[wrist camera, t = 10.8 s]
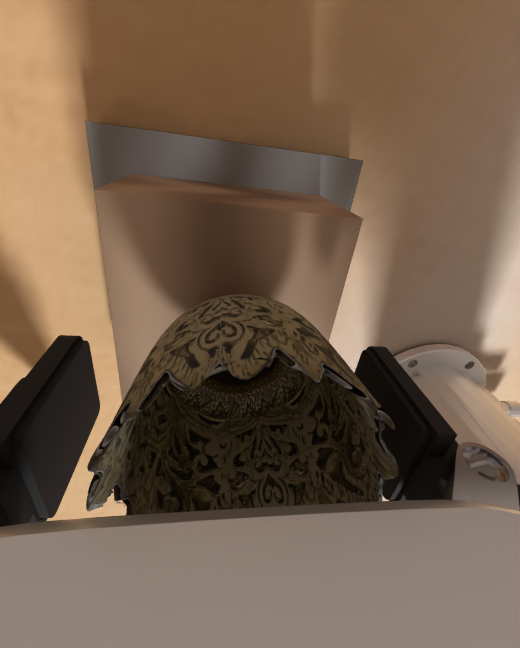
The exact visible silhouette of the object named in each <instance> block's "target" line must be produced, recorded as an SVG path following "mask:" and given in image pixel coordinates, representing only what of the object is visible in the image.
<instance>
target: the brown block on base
mask: <svg viewBox="0 0 520 648" xmlns="http://www.w3.org/2000/svg"><path fill="white" fill-rule="evenodd" d="M85 123H86V130H87V138H88V145H89V153H90V161H91V168H92V176H93V183H94V192H95V199H96V207H97V214H98V222H99V229H100V237H101V245H102V252H103V260H104V267H105V275H106V282H107V290H108V297H109V305H110V312H111V320H112V327H113V335H114V343H115V350H116V358H117V365H118V373H119V380H120V388H121V395H122V402H123V400H124V398H125V396H126V395H127V393H128V391H129V389H130V387H131V385H132V383H133V381H134V380H135V378H136V376H137V374H138V372H139V370H140V369H141V367H142V365H143V363H144V361H145V360H146V358H147V356H148V355H149V353H150V351H151V350H152V348H153V347H154V345H155V344H156V342H157V341H158V339H159V338H160V337H161V335H162V334H163V333H164V332H165V330H166V329H167V328H168V327H169V326H170V325H171V324H172V323H173V322H174V321H175V320H176V319H177V318H178V317H179V316H181V315H182V314H183V313H185V312H186V311H188V310H189V309H191V308H193V307H194V306H196V305H198V304H200V303H202V302H205V301H207V300H210V299H213V298H216V297H220V296H225V295H233V294H250V295H258V296H262V297H266V298H270V299H273V300H276V301H279V302H281V303H283V304H285V305H287V306H289V307H290V308H292V309H294V310H295V311H297V312H298V313H299V314H301V315H302V316H303V317H305V318H306V319H307V320H308V321H309V322H310V323H311V324H312V325H313V326H315V327H316V329H317V330H318V331H319V332H320V333H321V334H322V335H323V336H324V337H325V338H326V340H327V341H328V342H329V338H330V335H331V331H332V327H333V324H334V320H335V317H336V313H337V310H338V306H339V302H340V299H341V295H342V292H343V288H344V284H345V281H346V277H347V274H348V270H349V267H350V263H351V259H352V256H353V252H354V249H355V245H356V241H357V238H358V234H359V231H360V227H361V224H362V220H363V219H362V218H360V217H359V216H357V215H355V214H353V213H351V212H350V210H351V206H352V202H353V198H354V194H355V190H356V186H357V182H358V178H359V174H360V171H361V167H362V163H363V160H356V159H349V158H342V157H335V156H328V155H321V154H314V153H307V152H300V151H293V150H286V149H279V148H272V147H265V146H258V145H251V144H244V143H237V142H230V141H223V140H216V139H209V138H202V137H195V136H188V135H181V134H173V133H166V132H159V131H152V130H145V129H138V128H131V127H124V126H117V125H110V124H103V123H96V122H89V121H85Z"/></svg>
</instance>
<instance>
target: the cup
mask: <svg viewBox="0 0 520 648" xmlns="http://www.w3.org/2000/svg"><path fill="white" fill-rule="evenodd" d="M383 421H384V422H385V423H386V424H387V425H388V426H389V427H390V428H392V429H395V426H394V423H393V422H392V420H391V418H390V417H389V416H388V414H387V413H386V411H385V410H384V409H383V408H382V407H381V405H380V404H379V403H378V402H377V401H376V400H375V399H374V397H373V396H372V395H371V394H370V392H369V391H368V390H367V389H366V387H365V386H364V385H363V384H362V382H361V381H360V380H359V379H358V377H357V376H356V375H355V374H354V372H353V371H352V370H351V369H350V367H349V366H348V365H347V364H346V362H345V361H344V360H343V359H342V357H341V356H340V355H339V354H338V353H337V351H336V350H335V349H334V348H333V347H332V345H331V344H330V343H329V342H328V341H327V340H326V338H325V337H324V336H323V335H322V334H321V333H320V332H319V331H318V330H317V329H316V327H315V326H313V325H312V324H311V323H310V322H309V321H308V320H307V319H306V318H305V317H303V316H302V315H301V314H299V313H298V312H297V311H295V310H294V309H292V308H290V307H289V306H287V305H285V304H283V303H281V302H279V301H276V300H273V299H270V298H266V297H262V296H258V295H250V294H233V295H225V296H220V297H216V298H213V299H210V300H207V301H205V302H202V303H200V304H198V305H196V306H194V307H193V308H191V309H189V310H188V311H186V312H185V313H183V314H182V315H181V316H179V317H178V318H177V319H176V320H175V321H174V322H173V323H172V324H171V325H170V326H169V327H168V328H167V329H166V330H165V332H164V333H163V334H162V335H161V337H160V338H159V339H158V341H157V342H156V344H155V345H154V347H153V348H152V350H151V351H150V353H149V355H148V356H147V358H146V360H145V361H144V363H143V365H142V367H141V369H140V370H139V372H138V374H137V376H136V378H135V380H134V381H133V383H132V385H131V387H130V389H129V391H128V393H127V395H126V396H125V398H124V400H123V402H122V404H121V406H120V408H119V410H118V412H117V414H116V416H115V418H114V420H113V422H112V424H111V425H110V427H109V429H108V431H107V433H106V435H105V436H104V438H103V439H102V441H101V443H100V444H99V446H98V447H97V449H96V451H95V452H94V454H93V455H92V457H91V459H90V461H89V464H88V471H90V472H94V476H93V479H92V481H91V484H90V487H89V491H88V496H87V504H86V507H87V511H91V510H94V509H96V508H99V507H102V506H103V503H105V502H106V501H107V497H109V496H110V495H111V493H113V491H112V489H114V500H115V501H117V502H116V503H120V502H118V501H119V500H122V501H123V502H124V503H125V504H126V506H127V513H126V515H142V514H159V513H175V512H192V511H209V510H227V509H245V508H263V507H282V506H301V505H320V504H340V503H361V502H382V488H383V485H384V479H386V480H388V479H391V478H395V477H396V476H397V475H398V474H399V470H398V466H397V463H396V460H395V458H394V456H393V454H392V453H391V452H390V450H389V449H388V447H387V445H386V443H385V441H384V440H383V438H382V435H381V431H382V430H383V429H385V425H384V422H383ZM124 506H125V505H124Z"/></svg>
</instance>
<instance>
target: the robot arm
mask: <svg viewBox="0 0 520 648" xmlns="http://www.w3.org/2000/svg"><path fill="white" fill-rule="evenodd" d="M354 374H355V375H356V376H357V377H358V379H359V380H360V381H361V382H362V384H363V385H364V386H365V387H366V389H367V390H368V391H369V392H370V394H371V395H372V396H373V397H374V399H375V400H376V401H377V402H378V403H379V404H380V405H381V407H382V408H383V409H384V410H385V411H386V413H387V414H388V416H389V417H390V418H391V420H392V422H393V423H394V426H395V429H392V428H390V427H389V426H388V425H387V424H386V423H385V422H384V421H383V422H384V425H385V429H383V430H382V431H381V435H382V438H383V440H384V441H385V443H386V445H387V447H388V449H389V450H390V452H391V453H392V454H393V456H394V458H395V460H396V463H397V466H398V470H399V474H398V475H397V476H396V477H395V478H391V479H388V480H386V479H384V485H383V488H382V494H383V496H384V498H385V499H387V500H389V501H382V502H361V503H340V504H320V505H301V506H282V507H263V508H245V509H227V510H209V511H192V512H175V513H159V514H142V515H125V516H109V517H96V518H83V519H70V520H57V521H46V520H47V518H52V517H54V515H55V514H56V512H57V510H58V507H59V505H60V503H61V500H62V498H63V496H64V493H65V491H66V489H67V486H68V484H69V482H70V479H71V477H72V475H73V472H74V470H75V468H76V465H77V463H78V461H79V458H80V456H81V454H82V451H83V449H84V447H85V444H86V442H87V440H88V437H89V435H90V433H91V430H92V428H93V426H94V423H95V421H96V419H97V416H98V414H99V410H100V401H99V396H98V390H97V385H96V379H95V374H94V368H93V363H92V357H91V352H90V346H89V343H88V341H83V339H82V337H81V336H65V335H61V336H58V337H57V339H56V340H55V341H54V342H53V343H52V345H51V346H50V347H49V348H48V350H47V351H46V352H45V353H44V355H43V356H42V357H41V358H40V360H39V361H38V362H37V363H36V365H35V366H34V367H33V368H32V370H31V371H30V372H29V373H28V375H27V376H26V377H25V378H22V379H21V380H20V381H19V382H18V383H17V384H16V385H15V387H14V388H13V389H12V390H11V392H10V393H9V394H8V395H7V397H6V398H5V399H4V400H3V401H2V403H1V404H0V648H520V423H519V422H518V421H517V420H516V419H514V418H512V417H519V416H520V403H518V402H516V401H501V402H500V401H499V400H498V399H497V398H496V397H495V396H494V395H492V394H491V393H490V392H489V391H488V390H487V389H486V373H485V370H484V367H483V365H482V364H481V363H480V362H479V360H478V359H477V358H475V357H474V356H473V355H472V354H471V353H469V352H468V351H466V350H464V349H462V348H460V347H457V346H453V345H449V344H432V345H424V346H420V347H416V348H413V349H409V350H407V351H405V352H402V353H400V354H398V355H395V356H393V355H392V354H391V353H390V352H389V350H388V349H387V348H386V347H375V346H370V347H368V348H367V349H366V350H364V351H363V352H362V353H361V356H360V359H359V362H358V365H357V368H356V370H355V373H354Z"/></svg>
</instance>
